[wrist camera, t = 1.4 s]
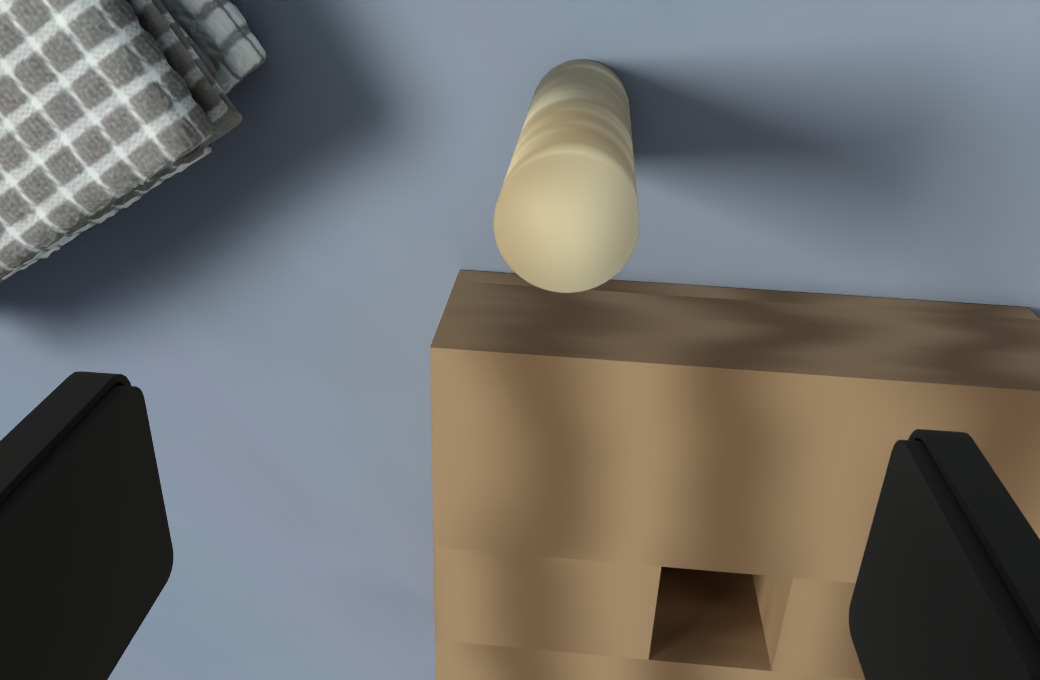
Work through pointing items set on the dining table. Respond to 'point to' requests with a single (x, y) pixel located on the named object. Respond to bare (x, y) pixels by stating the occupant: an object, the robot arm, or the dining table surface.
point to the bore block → (691, 468)
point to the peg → (571, 183)
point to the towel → (107, 108)
